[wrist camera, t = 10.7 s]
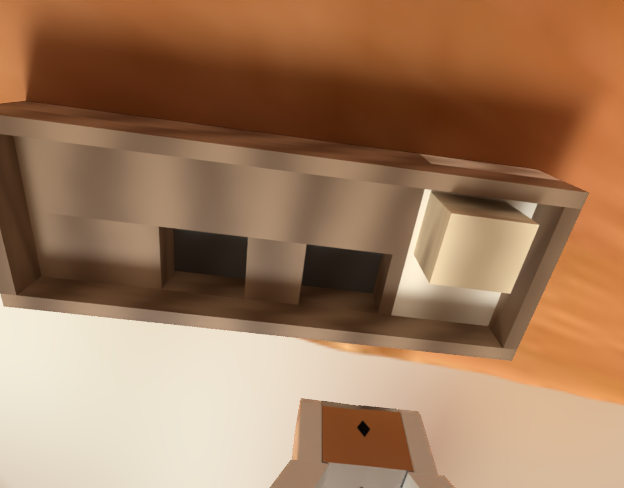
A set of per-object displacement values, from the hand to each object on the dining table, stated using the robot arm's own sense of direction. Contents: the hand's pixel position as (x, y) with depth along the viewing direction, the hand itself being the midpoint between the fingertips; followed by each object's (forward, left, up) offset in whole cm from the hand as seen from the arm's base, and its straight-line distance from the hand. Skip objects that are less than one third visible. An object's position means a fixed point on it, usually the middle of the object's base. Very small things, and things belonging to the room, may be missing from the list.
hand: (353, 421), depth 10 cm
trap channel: (+3, +3, -20) cm, 20 cm away
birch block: (-9, 0, -17) cm, 19 cm away
